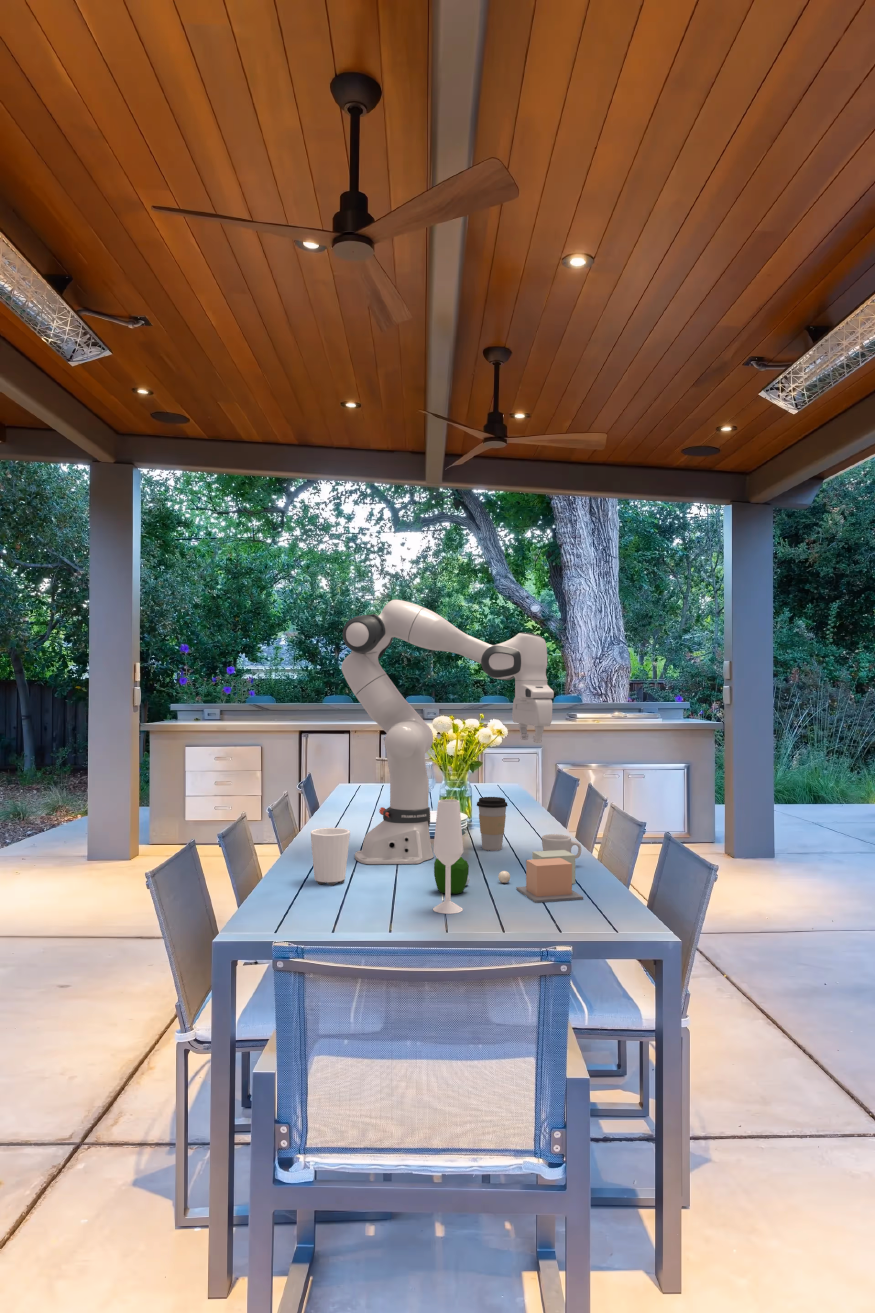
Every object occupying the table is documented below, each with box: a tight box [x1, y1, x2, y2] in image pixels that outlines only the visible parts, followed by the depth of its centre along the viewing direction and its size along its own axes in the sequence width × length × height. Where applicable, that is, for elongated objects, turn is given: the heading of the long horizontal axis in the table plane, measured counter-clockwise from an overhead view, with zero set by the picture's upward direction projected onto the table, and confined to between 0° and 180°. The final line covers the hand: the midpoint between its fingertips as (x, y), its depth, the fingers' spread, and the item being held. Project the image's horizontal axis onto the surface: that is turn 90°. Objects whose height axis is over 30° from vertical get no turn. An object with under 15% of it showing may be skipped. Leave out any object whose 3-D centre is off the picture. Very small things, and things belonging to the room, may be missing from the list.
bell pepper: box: [433, 856, 470, 894], centre depth 196 cm, size 8×8×10 cm
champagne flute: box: [432, 799, 464, 915], centre depth 181 cm, size 7×7×24 cm
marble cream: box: [497, 870, 511, 884], centre depth 205 cm, size 3×3×3 cm
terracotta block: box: [525, 858, 573, 897], centre depth 194 cm, size 9×6×7 cm
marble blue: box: [465, 875, 471, 887], centre depth 202 cm, size 3×3×3 cm
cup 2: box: [541, 833, 582, 860], centre depth 223 cm, size 11×8×8 cm
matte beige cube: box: [531, 850, 576, 885], centre depth 206 cm, size 9×6×7 cm
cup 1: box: [310, 827, 351, 887], centre depth 204 cm, size 10×10×13 cm
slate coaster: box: [516, 885, 584, 904], centre depth 194 cm, size 12×12×1 cm
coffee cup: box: [476, 796, 509, 852], centre depth 245 cm, size 9×9×15 cm
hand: (530, 741), depth 225 cm, fingers open, 8 cm apart
